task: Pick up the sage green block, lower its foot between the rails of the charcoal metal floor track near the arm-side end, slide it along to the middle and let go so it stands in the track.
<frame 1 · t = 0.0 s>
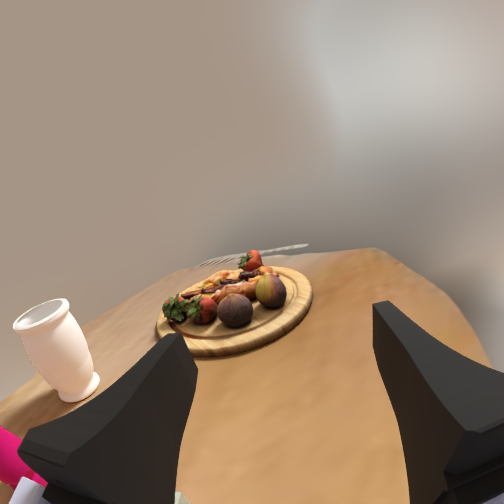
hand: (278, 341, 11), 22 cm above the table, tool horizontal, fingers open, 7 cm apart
pepper mill: (32, 482, 23), on the table
jar: (80, 388, 44), on the table
wooden plate with food: (234, 310, 62), on the table
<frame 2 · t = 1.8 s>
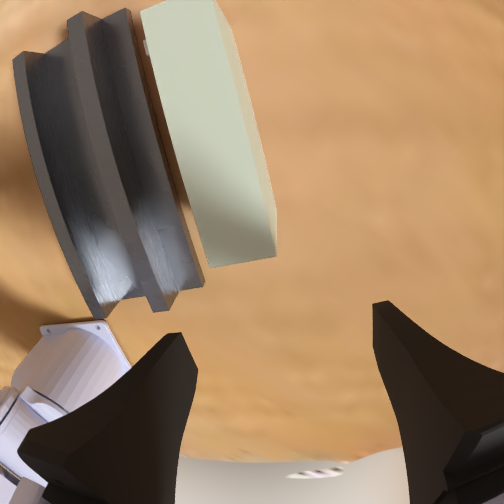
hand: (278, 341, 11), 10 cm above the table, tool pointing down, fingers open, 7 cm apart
sage green block: (230, 123, 18), on the table
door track: (99, 165, 19), on the table
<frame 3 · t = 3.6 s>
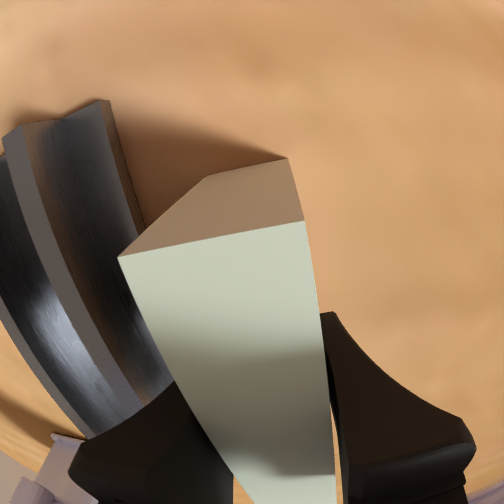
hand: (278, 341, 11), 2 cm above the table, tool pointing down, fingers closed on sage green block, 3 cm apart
sage green block: (279, 307, 13), on the table, touching gripper
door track: (97, 328, 15), on the table
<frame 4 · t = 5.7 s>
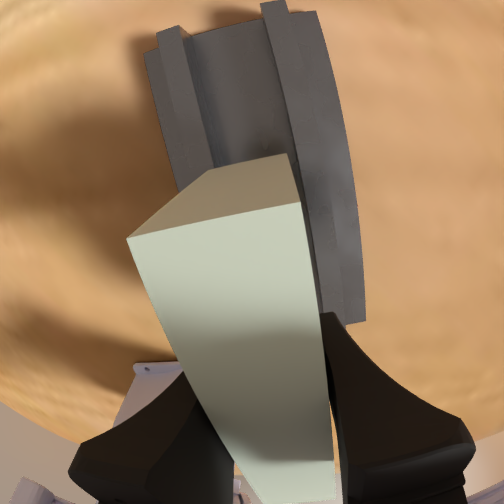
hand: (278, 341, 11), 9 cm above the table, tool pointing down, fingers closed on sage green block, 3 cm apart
sage green block: (278, 298, 14), point 7 cm above the table, touching gripper
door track: (267, 190, 18), on the table
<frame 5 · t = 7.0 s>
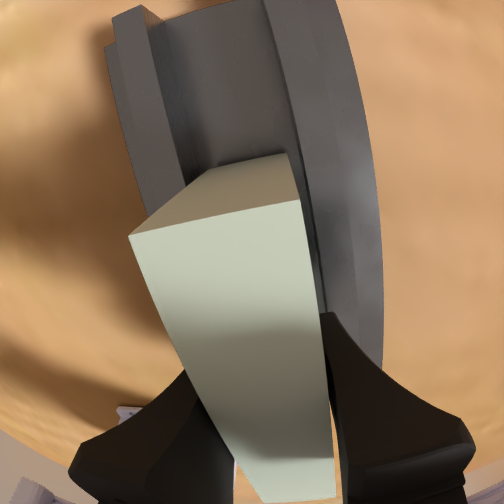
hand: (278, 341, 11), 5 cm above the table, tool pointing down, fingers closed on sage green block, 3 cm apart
sage green block: (278, 297, 14), point 2 cm above the table, touching gripper
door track: (266, 224, 14), on the table
when the fingers open (4 cm above the table, at t = 7.9 s): sage green block stays where it is, resting on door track.
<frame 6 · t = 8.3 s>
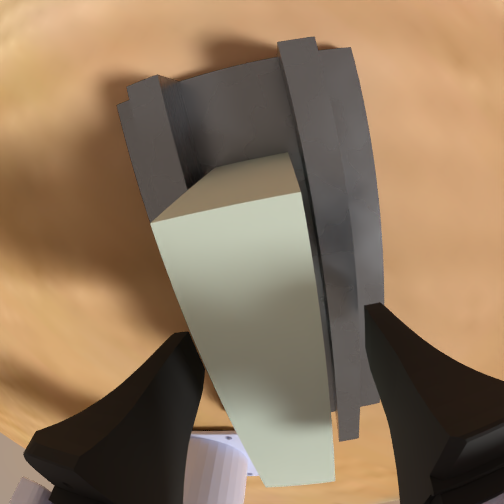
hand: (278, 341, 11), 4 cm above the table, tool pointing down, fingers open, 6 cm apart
sage green block: (279, 288, 14), point 1 cm above the table, touching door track
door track: (279, 281, 15), on the table
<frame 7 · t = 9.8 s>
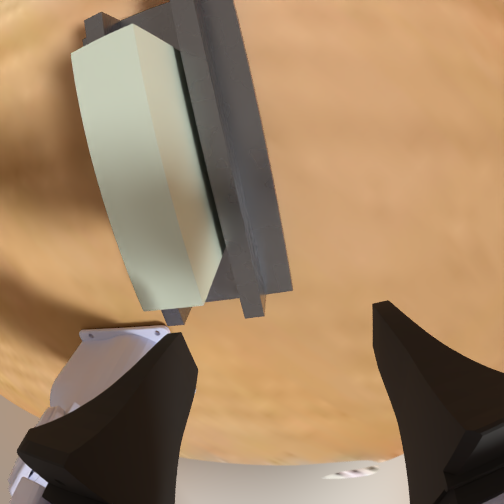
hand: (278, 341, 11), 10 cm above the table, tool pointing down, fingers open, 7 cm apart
sage green block: (180, 154, 18), point 1 cm above the table, touching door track
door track: (184, 153, 18), on the table
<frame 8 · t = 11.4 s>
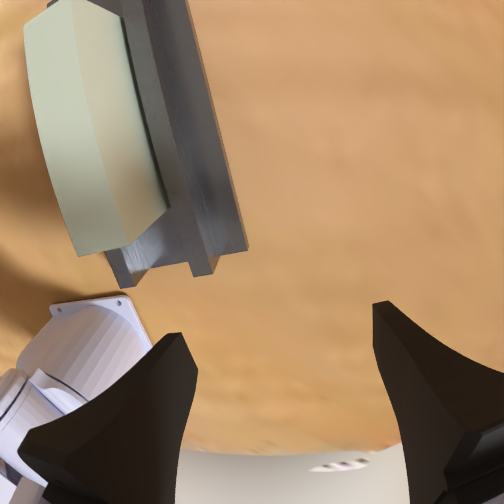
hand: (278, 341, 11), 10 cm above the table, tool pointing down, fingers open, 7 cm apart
sage green block: (130, 115, 17), point 1 cm above the table, touching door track
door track: (136, 116, 17), on the table
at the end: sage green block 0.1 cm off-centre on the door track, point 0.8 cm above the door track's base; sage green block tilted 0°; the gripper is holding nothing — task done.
